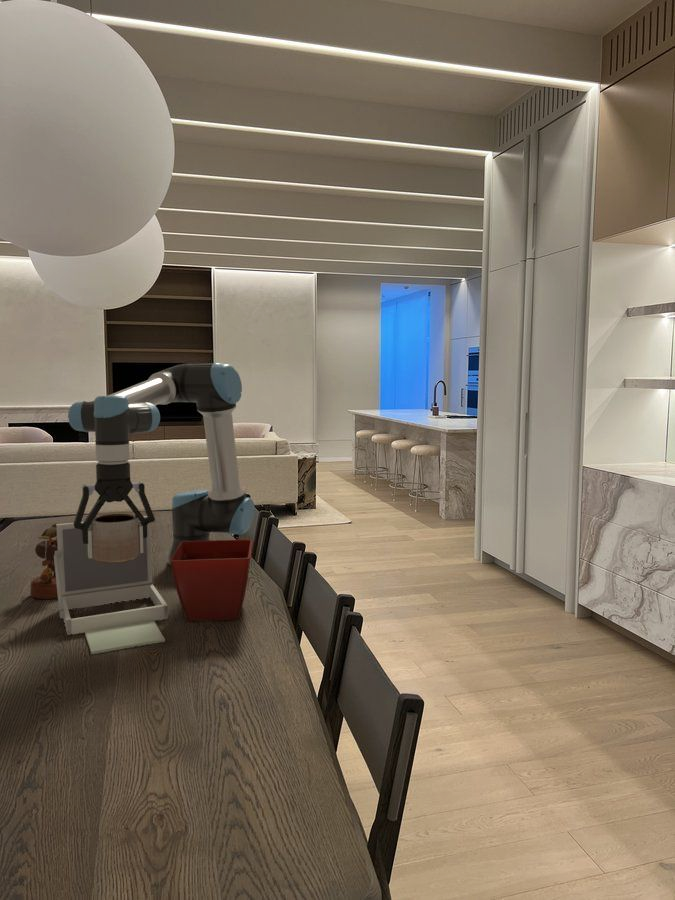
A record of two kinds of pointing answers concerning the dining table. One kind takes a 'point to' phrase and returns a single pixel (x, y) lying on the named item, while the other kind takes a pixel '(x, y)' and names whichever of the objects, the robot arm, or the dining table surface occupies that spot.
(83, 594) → the case
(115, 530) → the planter
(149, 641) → the mat
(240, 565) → the plant pot
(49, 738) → the dining table surface
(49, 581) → the music box
